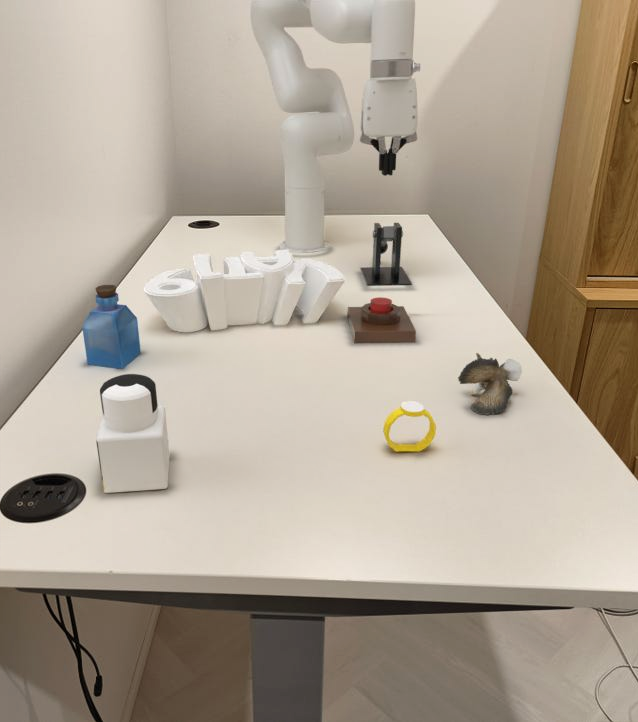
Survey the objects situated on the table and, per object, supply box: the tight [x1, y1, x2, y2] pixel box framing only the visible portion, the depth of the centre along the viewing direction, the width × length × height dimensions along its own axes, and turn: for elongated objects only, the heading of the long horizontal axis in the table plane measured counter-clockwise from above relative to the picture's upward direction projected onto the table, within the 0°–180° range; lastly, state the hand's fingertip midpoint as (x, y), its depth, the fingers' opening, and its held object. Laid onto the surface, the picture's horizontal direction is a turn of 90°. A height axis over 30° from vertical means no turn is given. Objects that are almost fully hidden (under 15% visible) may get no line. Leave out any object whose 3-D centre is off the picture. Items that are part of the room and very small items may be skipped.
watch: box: [382, 400, 437, 453], centre depth 81 cm, size 6×3×6 cm, turn 93°
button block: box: [347, 302, 417, 344], centre depth 117 cm, size 12×10×4 cm
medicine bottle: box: [95, 373, 170, 494], centre depth 76 cm, size 7×7×12 cm
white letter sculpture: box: [143, 249, 346, 333], centre depth 122 cm, size 35×16×11 cm, turn 94°
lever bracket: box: [360, 222, 413, 287], centre depth 140 cm, size 12×9×12 cm
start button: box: [369, 296, 393, 313], centre depth 116 cm, size 4×4×2 cm
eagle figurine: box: [457, 352, 523, 416], centre depth 92 cm, size 8×7×9 cm
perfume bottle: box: [81, 284, 142, 370], centre depth 106 cm, size 6×6×12 cm
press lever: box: [381, 225, 394, 255], centre depth 144 cm, size 13×3×3 cm, turn 178°
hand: (386, 174), depth 131 cm, fingers closed
